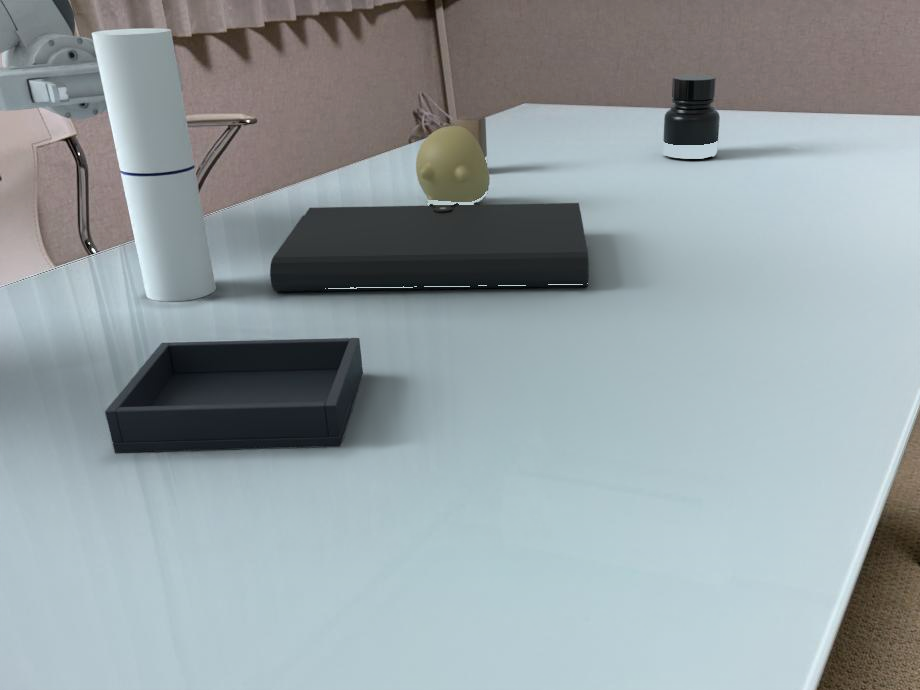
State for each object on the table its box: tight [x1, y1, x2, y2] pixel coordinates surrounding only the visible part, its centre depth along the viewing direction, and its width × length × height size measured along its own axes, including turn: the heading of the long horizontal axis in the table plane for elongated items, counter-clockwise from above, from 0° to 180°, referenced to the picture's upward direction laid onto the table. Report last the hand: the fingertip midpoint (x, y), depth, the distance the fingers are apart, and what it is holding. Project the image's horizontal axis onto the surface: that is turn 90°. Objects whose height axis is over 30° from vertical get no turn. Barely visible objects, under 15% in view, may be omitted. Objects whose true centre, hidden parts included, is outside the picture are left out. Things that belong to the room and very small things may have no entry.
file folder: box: [269, 202, 590, 293], centre depth 119 cm, size 33×4×24 cm
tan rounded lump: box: [415, 125, 491, 202], centre depth 141 cm, size 10×12×11 cm
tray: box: [104, 337, 364, 453], centre depth 83 cm, size 17×15×3 cm
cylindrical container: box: [91, 27, 217, 303], centre depth 105 cm, size 7×7×25 cm
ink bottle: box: [662, 74, 721, 145], centre depth 170 cm, size 10×9×12 cm
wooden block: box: [454, 115, 488, 157], centre depth 163 cm, size 4×4×8 cm
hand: (106, 88), depth 110 cm, fingers open, 8 cm apart
